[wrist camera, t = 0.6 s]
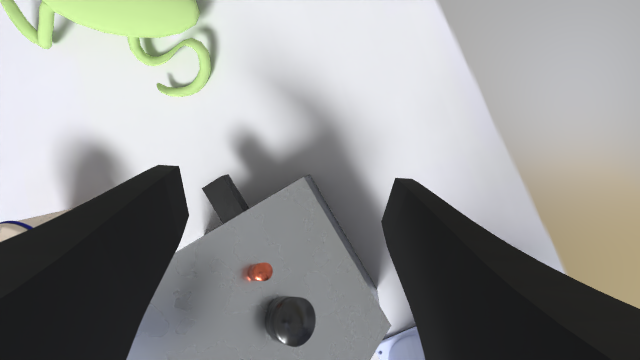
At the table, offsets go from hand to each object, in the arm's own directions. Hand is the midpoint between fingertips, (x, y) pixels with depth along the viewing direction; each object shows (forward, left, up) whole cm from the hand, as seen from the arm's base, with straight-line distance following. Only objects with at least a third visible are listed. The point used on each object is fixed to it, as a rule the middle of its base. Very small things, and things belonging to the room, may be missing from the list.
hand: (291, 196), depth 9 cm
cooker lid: (-8, +9, -9) cm, 15 cm away
